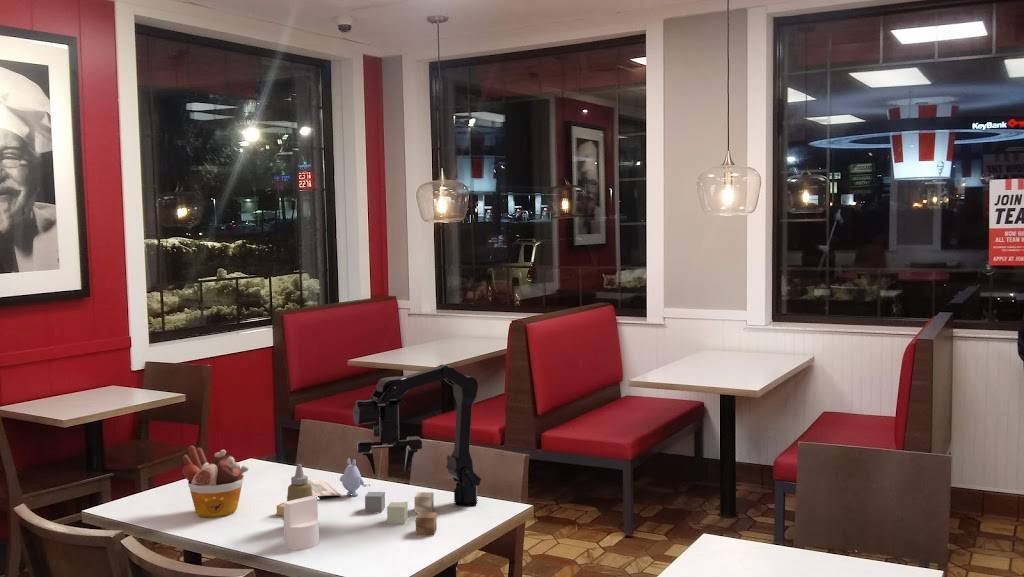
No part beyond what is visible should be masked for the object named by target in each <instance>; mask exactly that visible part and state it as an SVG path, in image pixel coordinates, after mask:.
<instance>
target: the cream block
mask: <svg viewBox="0 0 1024 577" xmlns="http://www.w3.org/2000/svg"><path fill="white" fill-rule="evenodd" d="M434 495H435V494H434V492H433V491H430V492H429V491H427V492H426V491H423V492H422V491H421V492H420V491H419V492H416V493H415V495H414V503H413V504H414V513H415V512H433V511H432V509H433V507H434V508H435V506H434V505H435V503H434V502H435V501H434V500H435V498H434ZM433 510H434V509H433Z"/></svg>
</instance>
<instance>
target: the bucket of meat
mask: <svg viewBox="0 0 1024 577" xmlns="http://www.w3.org/2000/svg"><path fill="white" fill-rule="evenodd" d="M187 451H188V452H189V453H188V454H189V455H188V454H184V455H182V459H181V460H182V462H183V463H184V466H183V468H182V469H181V470H182V471H181V472H182V474H183V476H184V477H185V479H186V480H187V482H188V483H187V484H188V487H189V492H190V496H191V498H192V503H193V507H194V510H195V514H196V515H197V516H198V517H201V518H206V519H209V518H210V519H211V518H212V519H215V518H216V519H217V518H223V517H227V516H230V515H232V514H234V513H235V512H236V511H237V509H238V508H239V502H240V498H241V490H242V486H243V482H244V479H245V478H244V477H245V475H243V474H244V473H246V472H248V471H249V467H248V466H246V465H245V464H244V465H242V466H241V467H240V465H241V464H240V463H239V462H237V461H235V458H234V457H233V455H226V453H227V451H226V450H225V449H221V450H220V451H219V452H218V451H217V452H215V453H214V456H213V457H215V458H213V459H211V461H210V462H208V461H207V458H206V455H205V453H204V450H203V448H202V447H198V448H196V447H195V446H194V445H189V446H188V450H187Z"/></svg>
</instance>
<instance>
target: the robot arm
mask: <svg viewBox="0 0 1024 577" xmlns="http://www.w3.org/2000/svg"><path fill="white" fill-rule="evenodd" d="M442 380H444V381H445V382H446V383H448V384H449V385H451V386H452V392H453V393H452V394H453V397H454V399H455V402H456V411H455V413H456V415H455V427H454V430H455V431H454V432H455V433H454V444H453V445H454V446H453V447H454V449H453V451H452V454H451V455H449V454H447V455H446V461H447V462H446V466H445V468H446V469H447V473H448V474H449V475H450V477H451V478H452V479H453V482H455V487H454V489H453V497H454V498H453V501H454V503H455V504H454V505H455V506H456V505H476V504H478V502H479V499H478V486H480V484H481V480H482V478H481V477H480V476H478V474H476V473H475V472H474V464H473V463H474V462H473V460H472V456H471V453H470V444H471V428H472V411H473V410H472V409H473V404H474V403H475V400H476V398H477V395H478V391H479V382H478V381H477V379H476V378H475V377H472V376H468V375H464V374H463V373H461V372H459V371H458V370H455V369H454V368H452V367H451V366H450V365H447V364H439V365H438V366H435V367H431V368H427V369H424V370H421V371H417V372H415V373H411V374H408V375H403V376H388V377H382V378H380V379H378V382H377V384H376V389H374V391H373V393H372V394H371V396H370V398H369V400H368V399H367V400H361V399H360V400H355V402H354V403H355V405H354V407H353V410H352V419H353V423H354V424H355V425H357V426H358V425H364V424H373V423H374V424H375V423H376V422H377V421H379V422H378V423H379V425H375V426H372V430H373V431H372V432H373V434H372V436H373V438H378V441H372V440H371V438H369V439H367V438H366V439H365V438H364V439H358V441H357V442H356V446H357V452H358V453H361V455H362V456H366V458H367V460H368V462H369V464H370V467H371V470H372V474H373V476H375V475H376V465H375V459H374V453H373V449H388V448H402V447H406V448H405V459H404V460H405V461H404V473H407V472H408V469H409V466H410V463H411V461H412V459H413V456H414V455H415V453H418V452H419V450H422V449H423V441H422V438H421V437H419V436H418V435H417V436H407V437H406V439H401V440H400V416H399V415H400V412H399V411H400V410H399V406H405V405H406V402H405V401H404V400H403V399H402V398H401V396H403V395H405V394H406V393H408V392H409V391H410V390H412V389H416V388H419V387H422V386H426V385H428V384H429V385H430V384H432V383H436V382H438V381H442ZM477 499H478V500H477ZM477 501H478V502H477ZM476 506H477V505H476Z"/></svg>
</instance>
